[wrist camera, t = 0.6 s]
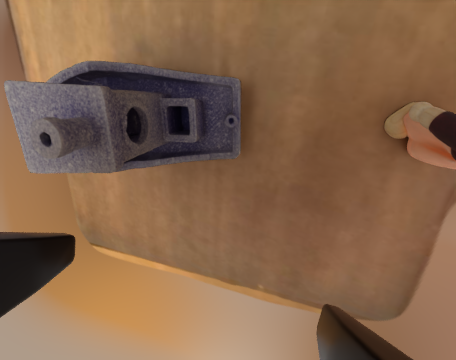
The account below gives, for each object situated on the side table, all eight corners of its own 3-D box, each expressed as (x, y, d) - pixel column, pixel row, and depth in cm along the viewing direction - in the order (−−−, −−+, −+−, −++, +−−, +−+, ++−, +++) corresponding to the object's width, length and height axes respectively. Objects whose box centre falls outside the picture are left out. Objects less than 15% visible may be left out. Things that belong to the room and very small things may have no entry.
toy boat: (250, 62, 19) (174, 28, 8) (248, 159, 22) (191, 244, 10) (91, 68, 23) (-126, 51, 11) (107, 150, 26) (-54, 205, 14)
